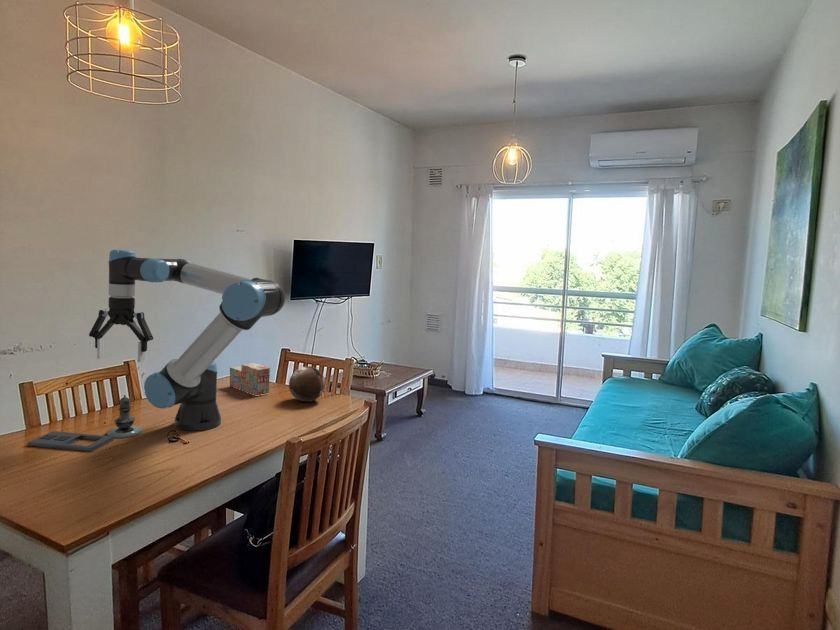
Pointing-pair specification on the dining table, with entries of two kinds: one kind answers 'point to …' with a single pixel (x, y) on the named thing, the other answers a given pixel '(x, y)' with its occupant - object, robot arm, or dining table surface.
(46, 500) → the dining table surface
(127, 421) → the dark grey chess piece
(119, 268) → the robot arm
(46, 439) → the grey compartment tray
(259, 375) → the stack of blocks
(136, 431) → the coaster
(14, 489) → the dining table surface
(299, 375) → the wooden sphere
